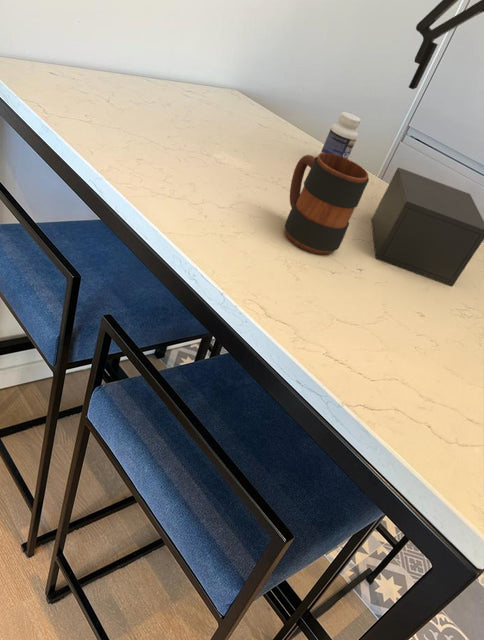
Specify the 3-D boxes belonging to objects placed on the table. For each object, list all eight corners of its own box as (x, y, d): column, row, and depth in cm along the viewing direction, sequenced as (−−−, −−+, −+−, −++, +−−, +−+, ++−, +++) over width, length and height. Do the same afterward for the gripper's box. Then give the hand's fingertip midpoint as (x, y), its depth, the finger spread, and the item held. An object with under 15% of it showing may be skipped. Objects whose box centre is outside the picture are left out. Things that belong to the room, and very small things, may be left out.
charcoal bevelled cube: (371, 219, 98) (397, 167, 92) (439, 244, 98) (470, 193, 92) (375, 258, 86) (406, 201, 80) (452, 286, 87) (489, 231, 81)
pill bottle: (340, 173, 111) (362, 124, 105) (315, 163, 112) (335, 113, 106) (344, 166, 115) (366, 118, 110) (320, 156, 116) (340, 108, 110)
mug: (298, 212, 91) (328, 141, 84) (348, 254, 84) (385, 181, 77) (257, 214, 86) (285, 138, 78) (307, 258, 79) (342, 180, 72)
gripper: (446, -92, 76) (373, 74, 88) (634, -24, 70) (526, 143, 83) (456, -84, 81) (386, 71, 94) (630, -20, 75) (530, 136, 88)
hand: (451, 105), depth 88 cm, fingers open, 13 cm apart
